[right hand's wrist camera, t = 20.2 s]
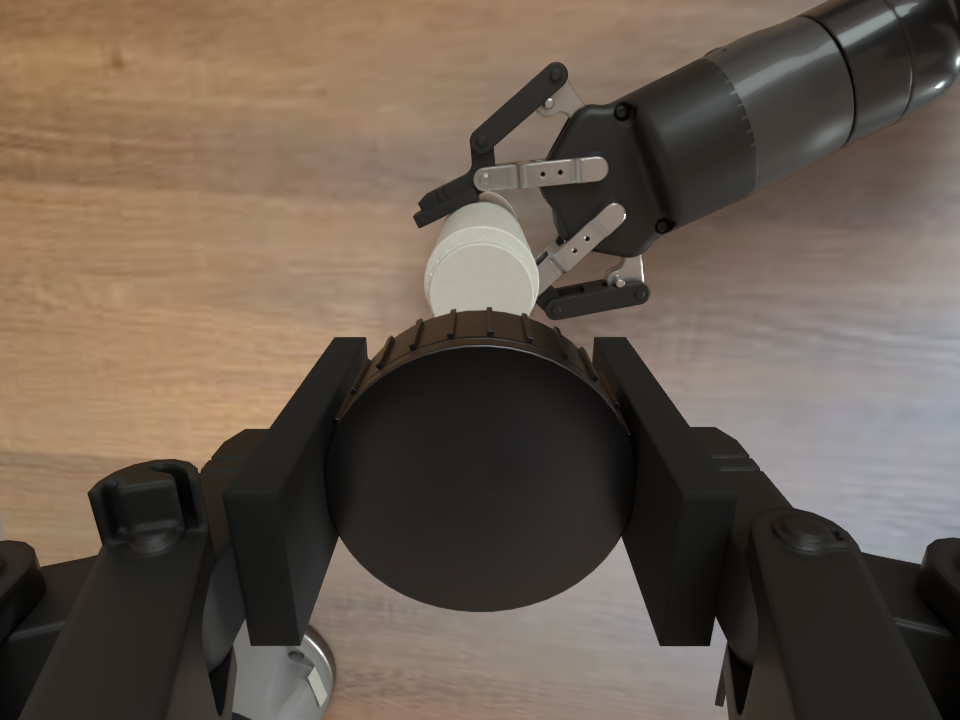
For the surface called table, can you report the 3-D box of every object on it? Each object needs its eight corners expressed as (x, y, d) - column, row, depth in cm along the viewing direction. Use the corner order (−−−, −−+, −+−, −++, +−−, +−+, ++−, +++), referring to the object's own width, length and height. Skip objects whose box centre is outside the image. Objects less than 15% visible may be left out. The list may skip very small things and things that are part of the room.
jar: (431, 215, 39) (394, 276, 22) (493, 175, 38) (502, 207, 21) (470, 275, 40) (463, 375, 24) (530, 238, 39) (566, 314, 23)
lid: (659, 352, 11) (695, 395, 10) (560, 572, 13) (573, 643, 11) (381, 268, 11) (360, 296, 9) (320, 510, 13) (292, 576, 11)
